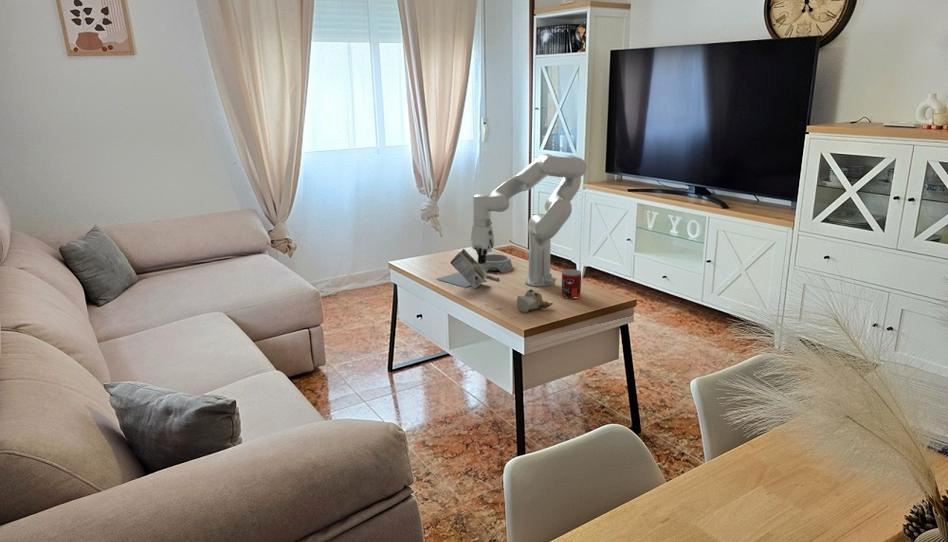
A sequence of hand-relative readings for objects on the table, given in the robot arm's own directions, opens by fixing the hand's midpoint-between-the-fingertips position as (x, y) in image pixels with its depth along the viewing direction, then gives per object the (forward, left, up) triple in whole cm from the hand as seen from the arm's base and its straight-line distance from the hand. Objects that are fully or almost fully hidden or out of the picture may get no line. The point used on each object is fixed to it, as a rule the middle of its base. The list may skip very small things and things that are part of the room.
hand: (481, 263), depth 275 cm
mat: (+13, 0, -11) cm, 17 cm away
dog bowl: (+17, -26, -11) cm, 33 cm away
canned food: (-38, -15, -11) cm, 42 cm away
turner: (+8, -11, -11) cm, 18 cm away
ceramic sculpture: (-35, +8, -11) cm, 38 cm away
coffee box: (0, 0, -9) cm, 9 cm away
